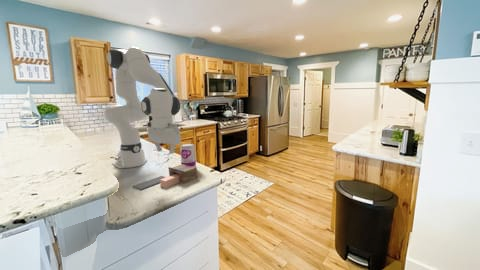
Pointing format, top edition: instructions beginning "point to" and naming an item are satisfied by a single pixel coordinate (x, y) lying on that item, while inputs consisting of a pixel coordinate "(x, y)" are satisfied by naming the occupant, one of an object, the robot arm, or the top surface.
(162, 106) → the robot arm
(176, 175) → the pink rectangular block
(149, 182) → the mat
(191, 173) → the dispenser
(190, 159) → the supplement can
